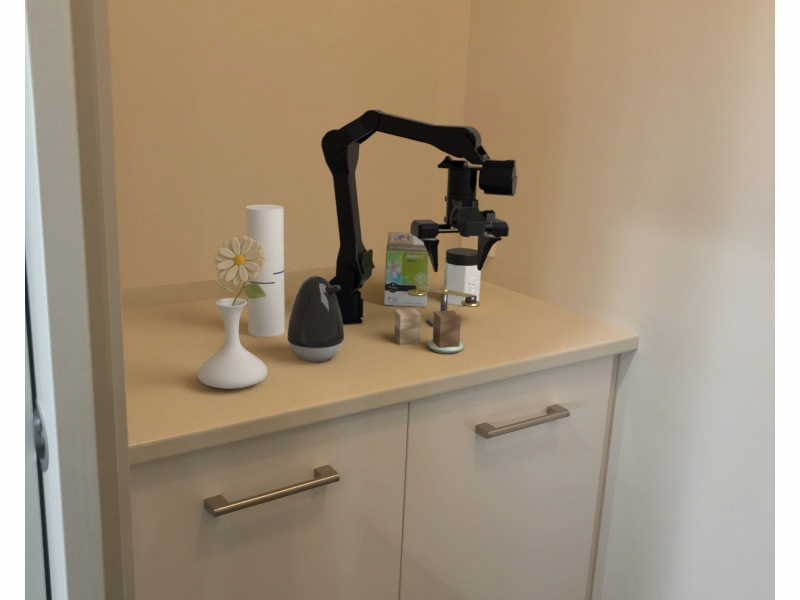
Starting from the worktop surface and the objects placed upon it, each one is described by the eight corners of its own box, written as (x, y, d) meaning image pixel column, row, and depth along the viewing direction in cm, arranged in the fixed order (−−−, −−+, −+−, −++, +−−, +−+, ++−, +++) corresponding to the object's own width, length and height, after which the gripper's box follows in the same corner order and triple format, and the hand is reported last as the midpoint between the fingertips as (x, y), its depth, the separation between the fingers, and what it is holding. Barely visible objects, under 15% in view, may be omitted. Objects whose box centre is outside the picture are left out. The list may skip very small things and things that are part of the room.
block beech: (399, 345, 150) (400, 315, 148) (394, 338, 153) (395, 309, 152) (419, 343, 151) (420, 314, 149) (413, 337, 154) (414, 308, 153)
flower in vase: (182, 384, 126) (175, 233, 120) (231, 365, 136) (227, 224, 129) (242, 403, 120) (238, 244, 113) (289, 381, 129) (288, 233, 123)
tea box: (427, 307, 176) (430, 243, 172) (383, 306, 176) (385, 242, 172) (426, 291, 190) (428, 231, 186) (385, 289, 190) (387, 230, 186)
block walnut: (439, 347, 145) (440, 317, 144) (432, 341, 149) (434, 311, 147) (459, 346, 146) (461, 316, 145) (452, 340, 150) (453, 310, 149)
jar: (456, 308, 176) (459, 256, 173) (435, 299, 183) (437, 249, 179) (486, 303, 181) (490, 252, 178) (465, 295, 187) (468, 246, 184)
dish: (434, 355, 144) (435, 350, 144) (424, 344, 150) (424, 339, 150) (468, 353, 146) (468, 348, 146) (456, 342, 152) (456, 337, 152)
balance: (409, 328, 160) (411, 287, 158) (404, 322, 164) (405, 282, 162) (481, 324, 165) (484, 284, 162) (474, 318, 168) (477, 280, 166)
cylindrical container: (291, 332, 155) (291, 207, 149) (263, 339, 150) (261, 211, 144) (269, 324, 160) (268, 203, 153) (241, 331, 155) (238, 206, 148)
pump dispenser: (321, 371, 134) (322, 286, 130) (275, 359, 140) (274, 277, 136) (355, 355, 143) (357, 275, 139) (311, 344, 148) (311, 267, 144)
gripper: (428, 199, 140) (425, 282, 144) (523, 198, 145) (517, 278, 149) (410, 190, 150) (408, 269, 155) (499, 190, 156) (495, 266, 160)
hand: (457, 271), depth 154 cm, fingers open, 9 cm apart
